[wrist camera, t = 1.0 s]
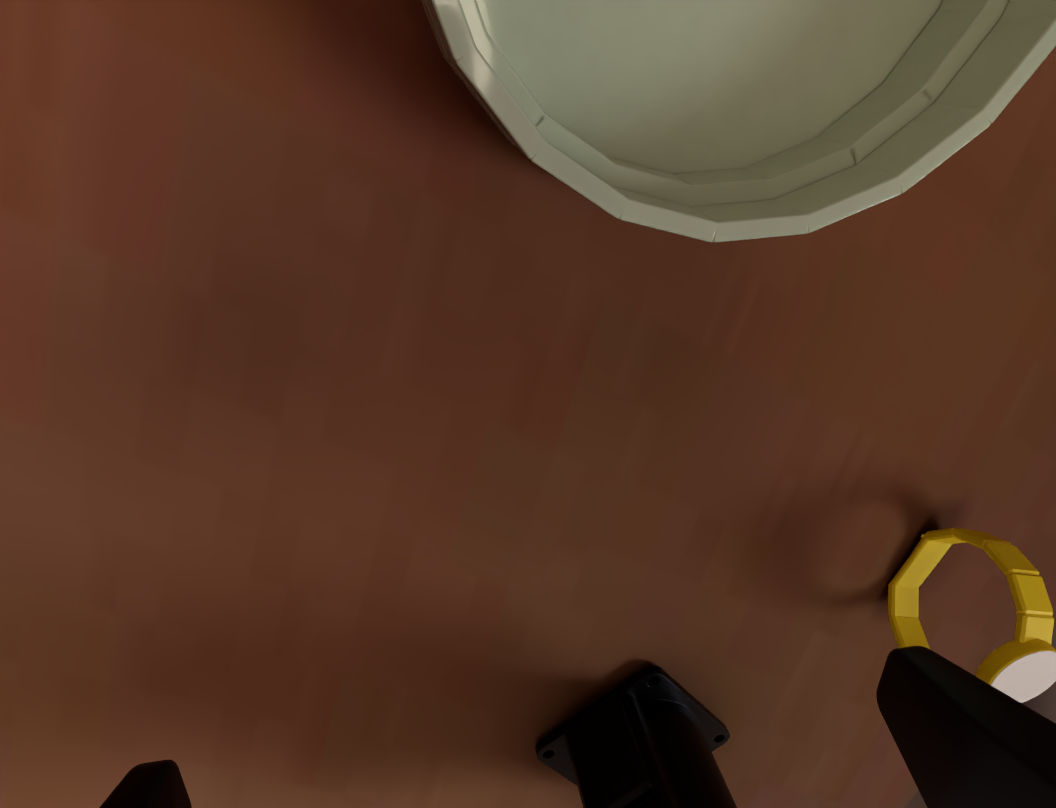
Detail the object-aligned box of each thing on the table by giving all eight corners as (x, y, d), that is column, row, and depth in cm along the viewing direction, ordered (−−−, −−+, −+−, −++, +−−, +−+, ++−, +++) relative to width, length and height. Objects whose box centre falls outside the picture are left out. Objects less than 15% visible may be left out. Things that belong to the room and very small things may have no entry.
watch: (924, 498, 28) (1049, 606, 22) (978, 506, 28) (1112, 613, 23) (854, 613, 30) (953, 736, 25) (906, 618, 31) (1012, 737, 26)
